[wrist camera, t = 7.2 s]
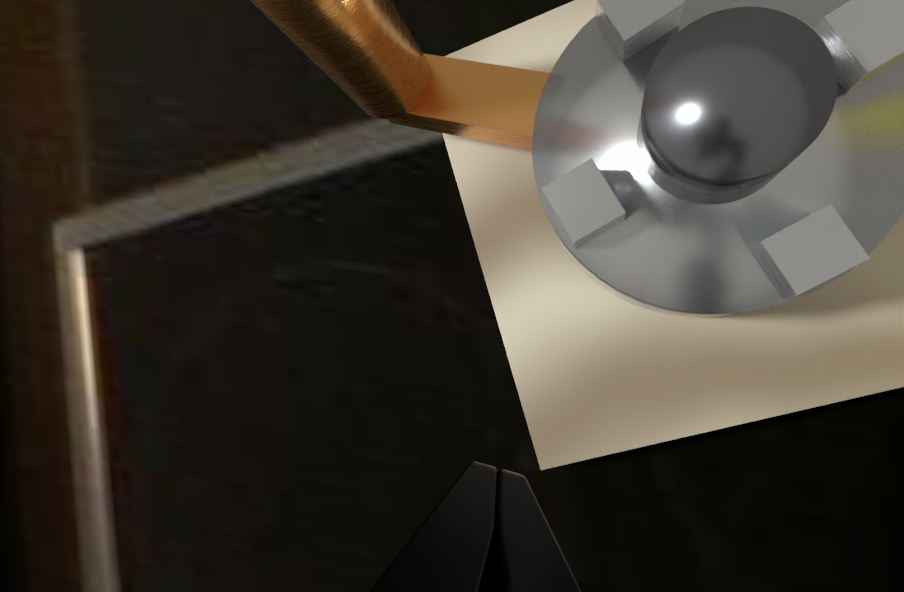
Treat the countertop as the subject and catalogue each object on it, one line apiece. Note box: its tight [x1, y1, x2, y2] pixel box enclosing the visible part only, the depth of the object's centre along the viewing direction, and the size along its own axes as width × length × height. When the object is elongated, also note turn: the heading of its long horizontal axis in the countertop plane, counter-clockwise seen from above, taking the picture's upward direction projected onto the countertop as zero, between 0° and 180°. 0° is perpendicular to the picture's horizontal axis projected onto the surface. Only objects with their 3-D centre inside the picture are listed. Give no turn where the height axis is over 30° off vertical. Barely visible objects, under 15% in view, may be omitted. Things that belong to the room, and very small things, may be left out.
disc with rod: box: [251, 0, 904, 317], centre depth 10 cm, size 15×9×12 cm, turn 74°
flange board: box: [442, 0, 904, 470], centre depth 17 cm, size 14×13×2 cm
